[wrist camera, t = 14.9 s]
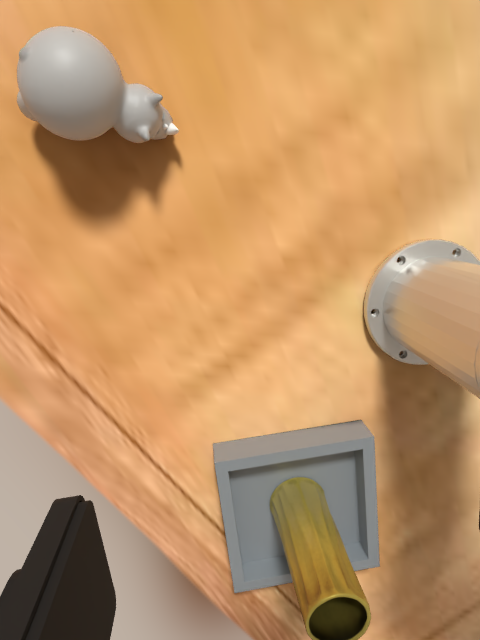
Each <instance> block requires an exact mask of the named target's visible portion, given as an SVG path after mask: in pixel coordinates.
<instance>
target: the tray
mask: <svg viewBox="0 0 480 640" xmlns="http://www.w3.org/2000/svg"><path fill="white" fill-rule="evenodd" d="M213 451H214V464H215V470H216V476H217V483H218V489H219V496H220V502H221V509H222V515H223V522H224V528H225V534H226V541H227V547H228V554H229V560H230V567H231V573H232V579H233V586H234V592H235V593H238V592H243V591H249V590H254V589H260V588H265V587H271V586H276V585H281V584H287V583H292V582H293V580H292V576H291V573H290V569H289V566H288V562H287V559H286V555H285V552H284V548H283V544H282V541H281V537H280V534H279V531H278V528H277V526H276V523H275V520H274V517H273V515H272V513H271V510H270V498H271V495H272V493H273V492H274V490H275V489H276V488H277V487H278V486H279V485H280V484H281V483H282V482H284V481H286V480H288V479H291V478H295V477H305V478H309V479H312V480H313V481H315V482H316V483H318V484H319V485H320V486H321V487H322V489H323V490H324V493H325V498H326V501H327V504H328V507H329V510H330V513H331V515H332V517H333V519H334V522H335V524H336V527H337V529H338V532H339V534H340V536H341V539H342V542H343V544H344V547H345V550H346V552H347V555H348V557H349V560H350V562H351V565H352V567H353V569H354V571H357V570H363V569H368V568H374V567H379V566H380V564H379V540H378V516H377V493H376V469H375V445H374V436H373V434H372V433H371V432H370V431H369V429H368V428H367V427H366V425H365V424H364V423H363V422H362V420H357V421H351V422H345V423H339V424H332V425H326V426H320V427H314V428H307V429H301V430H295V431H289V432H283V433H276V434H270V435H264V436H258V437H252V438H245V439H239V440H233V441H227V442H221V443H214V444H213Z"/></svg>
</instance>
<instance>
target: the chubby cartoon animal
mask: <svg viewBox="0 0 480 640" xmlns="http://www.w3.org/2000/svg"><path fill="white" fill-rule="evenodd" d="M17 81H18V87H19V93H18V95H17V103H18V106H19V108H20V110H21V112H22V113H23V114H24V115H25V116H26V117H28V118H29V119H31V120H34V121H38V122H39V123H40V124H41V125H42V126H43V127H44V128H46V129H47V130H49V131H50V132H52V133H54V134H56V135H58V136H60V137H63V138H66V139H70V140H89V139H93V138H96V137H99V136H101V135H102V134H104V133H105V132H107V131H108V130H109V129H110V128H112V127H113V128H114V129H115V130H116V131H117V132H118V133H119V134H120V135H121V136H122V137H123V138H125V139H126V140H128V141H131V142H135V143H143V142H145V141H149V140H150V139H154V140H156V139H165V138H166V137H167V135H175V134H177V133H178V132H179V130H178V128H177V127H176V126H175V125H174V124H173V123H172V122H173V120H172V117H171V116H170V114H169V112H168V111H167V110H166V109H165V108H164V107H163V106H162V105H161V103H160V101H161V100H162V98H163V97H162V95H160V94H157V93H154V92H153V91H152V90H151V89H150V88H148V87H147V86H145V85H142V84H127V83H126V82H125V81H124V79H123V77H122V74H121V71H120V68H119V66H118V64H117V62H116V60H115V58H114V57H113V55H112V54H111V53H110V51H109V50H108V49H107V48H106V47H105V46H104V45H103V44H102V43H101V42H100V41H99V40H98V39H96V38H95V37H94V36H92V35H90V34H89V33H87V32H85V31H82V30H80V29H77V28H72V27H66V26H58V27H51V28H48V29H45V30H43V31H41V32H39V33H37V34H36V35H34V36H33V37H32V38H31V39H30V40H29V41H28V42H27V44H26V45H25V47H23V48H22V49H21V50H20V52H19V61H18V67H17Z"/></svg>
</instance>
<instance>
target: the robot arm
mask: <svg viewBox="0 0 480 640" xmlns="http://www.w3.org/2000/svg"><path fill="white" fill-rule="evenodd" d="M453 251H454V252H453ZM452 253H453V254H452ZM398 257H399V261H398V262H397V258H398ZM373 309H374V311H373V313H371V311H372V310H373ZM364 318H365V323H366V327H367V329H368V332H369V334H370V336H371V338H372V339H373V341H374V342H375V343H376V345H377V346H378V347H379V348H380V349H381V350H383V351H384V352H385V353H386V354H388V355H389V356H390V357H392V358H394V359H396V360H398V361H400V362H403V363H408V364H412V365H426V364H430V365H431V366H433V367H434V368H435V369H437V370H438V371H440V372H441V373H443V374H444V375H446V376H447V377H449V378H450V379H452V380H453V381H455V382H456V383H457V384H459V385H460V386H462V387H463V388H465V389H466V390H468V391H469V392H471V393H472V394H474V395H475V396H477V397H478V398H479V399H480V261H479V260H478V259H477V258H476V256H475V255H474V254H473V253H472V252H470V251H469V250H467V249H466V248H465V247H463V246H461V245H459V244H456V243H454V242H450V241H445V240H435V239H428V240H420V241H416V242H413V243H410V244H407V245H405V246H403V247H402V248H400V249H398V250H396V251H395V252H394V253H392V254H391V255H390V256H389V257H387V258H386V259H385V260H384V261H383V263H382V264H381V265H380V266H379V267H378V268H377V270H376V272H375V273H374V275H373V276H372V278H371V280H370V283H369V285H368V288H367V290H366V295H365V300H364ZM400 352H401V353H400ZM399 353H400V354H399ZM479 530H480V513H479ZM115 610H116V595H115V590H114V586H113V582H112V578H111V574H110V570H109V566H108V562H107V558H106V554H105V550H104V546H103V542H102V538H101V534H100V530H99V526H98V522H97V518H96V513H95V510H94V506H93V503H92V501H85V500H84V498H83V496H81V495H79V496H74V497H67V498H61V499H56V500H55V501H54V502H53V504H52V506H51V508H50V510H49V512H48V514H47V516H46V518H45V520H44V523H43V525H42V527H41V529H40V531H39V533H38V535H37V537H36V540H35V541H34V544H33V546H32V548H31V550H30V552H29V554H28V556H27V558H26V560H25V563H24V565H23V567H22V569H19V570H16V571H15V572H14V573H13V574H12V576H11V577H10V578H9V580H8V582H7V584H6V586H5V588H4V590H3V592H2V594H1V596H0V640H110V636H111V631H112V626H113V621H114V616H115Z"/></svg>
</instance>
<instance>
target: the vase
mask: <svg viewBox="0 0 480 640" xmlns="http://www.w3.org/2000/svg"><path fill="white" fill-rule="evenodd" d="M270 510H271V513H272V515H273V517H274V520H275V523H276V526H277V528H278V531H279V534H280V537H281V541H282V544H283V548H284V552H285V555H286V559H287V562H288V566H289V569H290V573H291V576H292V580H293V584H294V588H295V591H296V595H297V599H298V603H299V606H300V610H301V613H302V617H303V620H304V624H305V628H306V631H307V633H308V635H309V637H310V638H311V639H312V640H358V639H359V638H360V637H361V636H362V635H363V634H364V633H365V632H366V630H367V628H368V626H369V624H370V620H371V613H370V608H369V604H368V601H367V599H366V597H365V595H364V593H363V590H362V588H361V586H360V583H359V581H358V578H357V576H356V574H355V571H354V569H353V567H352V565H351V562H350V560H349V557H348V555H347V552H346V550H345V547H344V544H343V542H342V539H341V536H340V534H339V532H338V529H337V527H336V524H335V522H334V519H333V517H332V515H331V513H330V510H329V507H328V504H327V501H326V498H325V493H324V490H323V489H322V487H321V486H320V485H319V484H318V483H316V482H315V481H313V480H312V479H309V478H305V477H295V478H291V479H288V480H286V481H284V482H282V483H281V484H280V485H279V486H278V487H277V488H276V489H275V490H274V492H273V493H272V495H271V498H270Z"/></svg>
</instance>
